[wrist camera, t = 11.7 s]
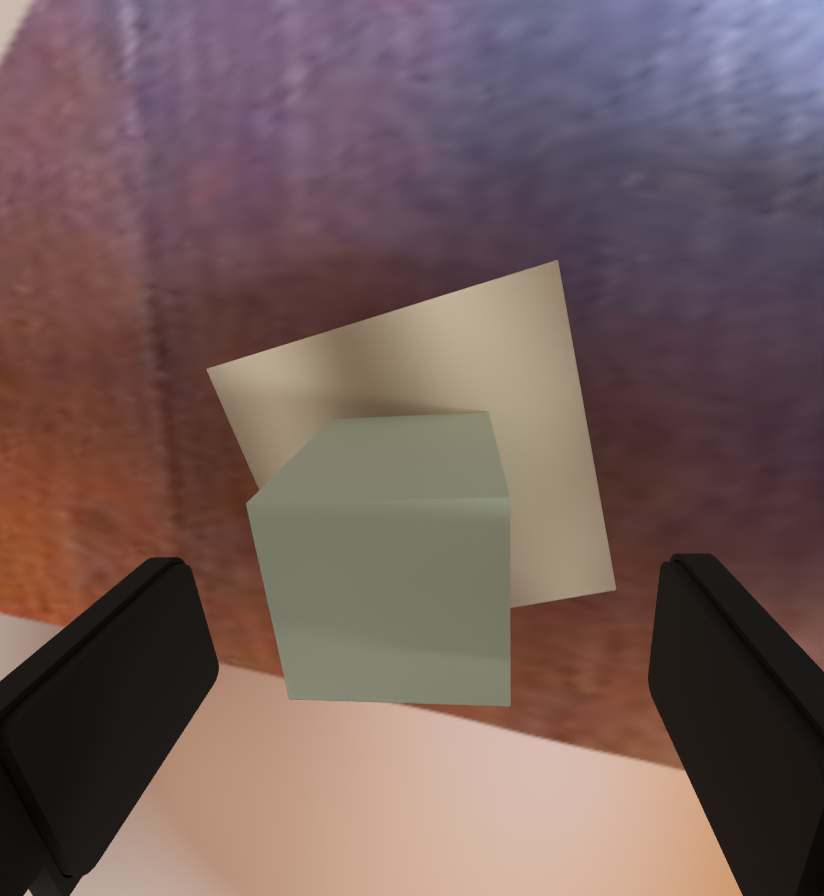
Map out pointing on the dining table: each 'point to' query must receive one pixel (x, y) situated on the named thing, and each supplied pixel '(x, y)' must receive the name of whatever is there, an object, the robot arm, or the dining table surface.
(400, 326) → the birch base block
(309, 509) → the sage block
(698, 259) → the dining table surface
